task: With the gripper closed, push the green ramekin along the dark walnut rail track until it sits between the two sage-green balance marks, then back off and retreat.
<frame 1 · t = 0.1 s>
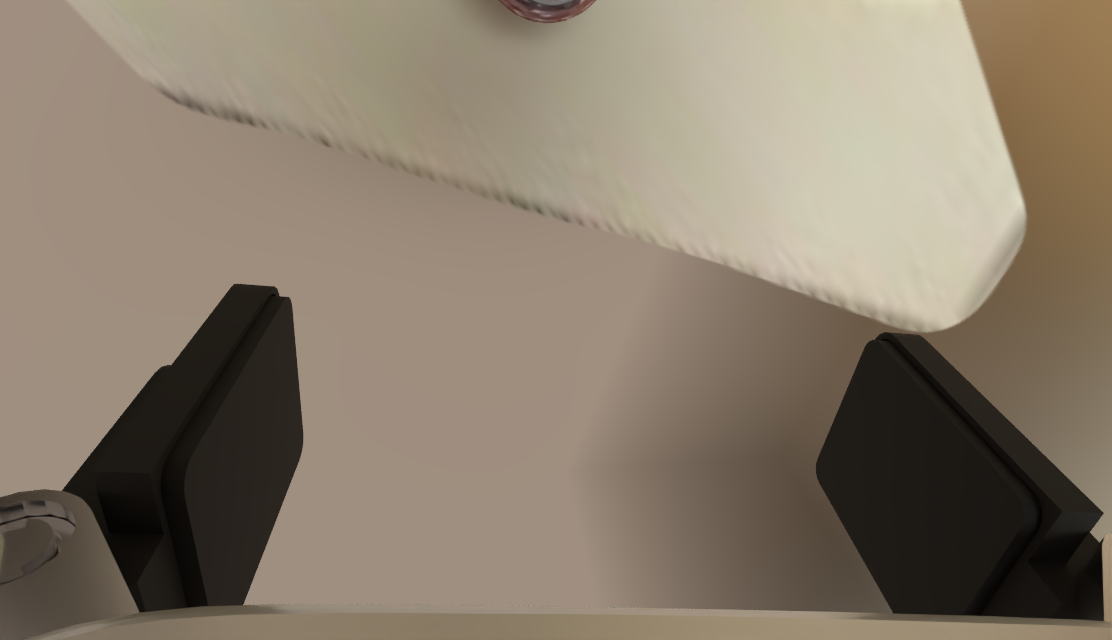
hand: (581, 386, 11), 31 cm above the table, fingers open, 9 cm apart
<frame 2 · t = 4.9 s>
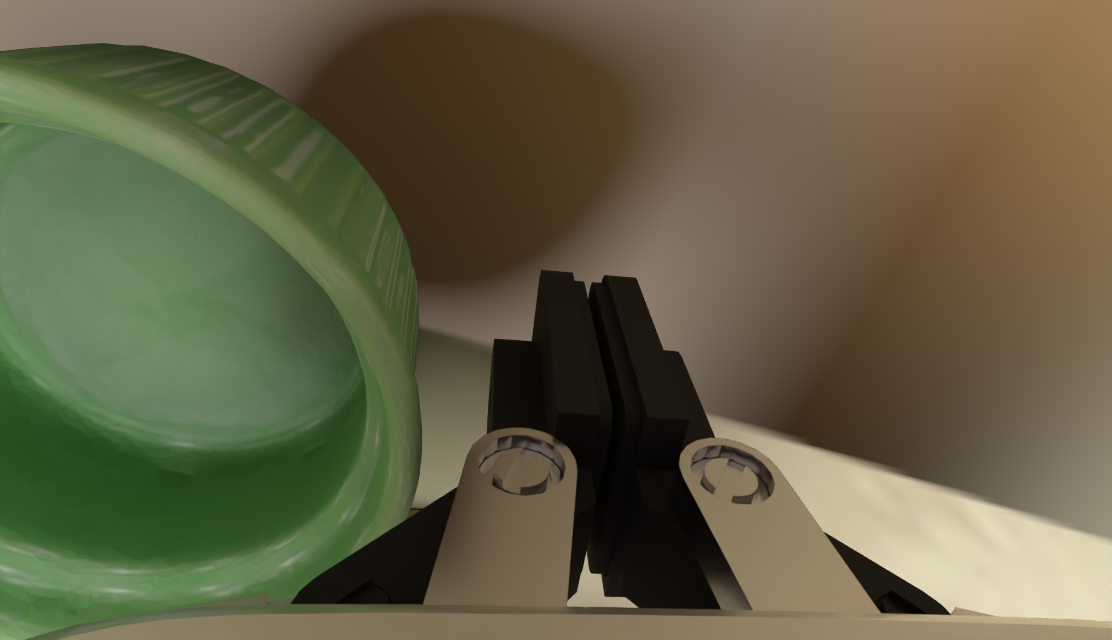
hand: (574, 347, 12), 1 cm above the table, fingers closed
ramekin: (197, 274, 12), on the table, touching gripper
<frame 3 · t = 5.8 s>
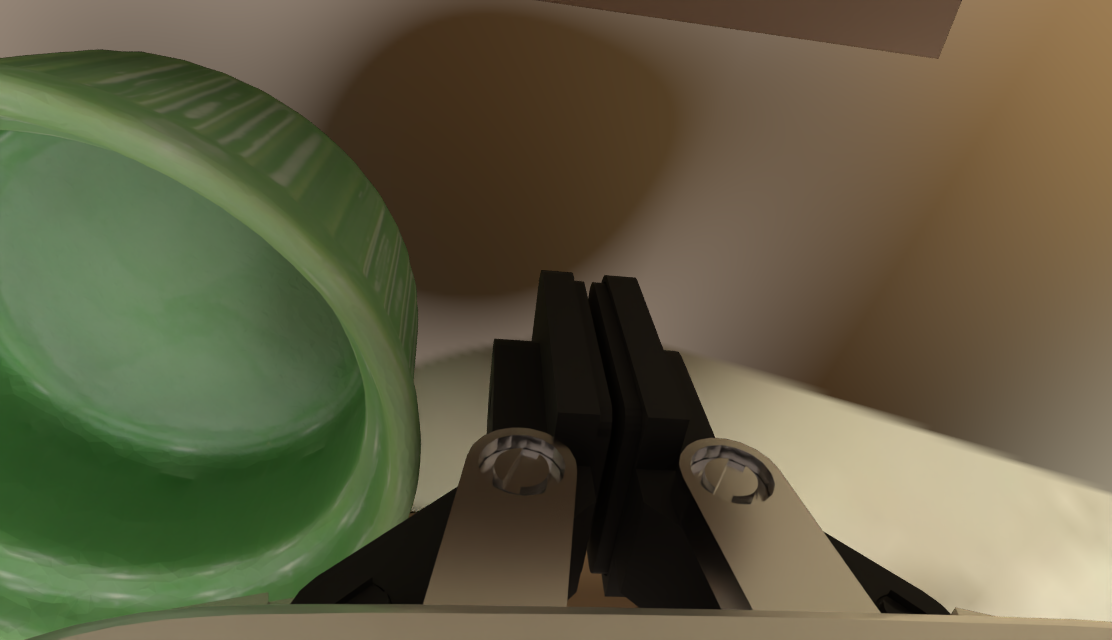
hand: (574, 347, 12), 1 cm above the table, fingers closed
ramekin: (197, 279, 12), on the table, touching gripper
walnut track: (246, 286, 12), on the table
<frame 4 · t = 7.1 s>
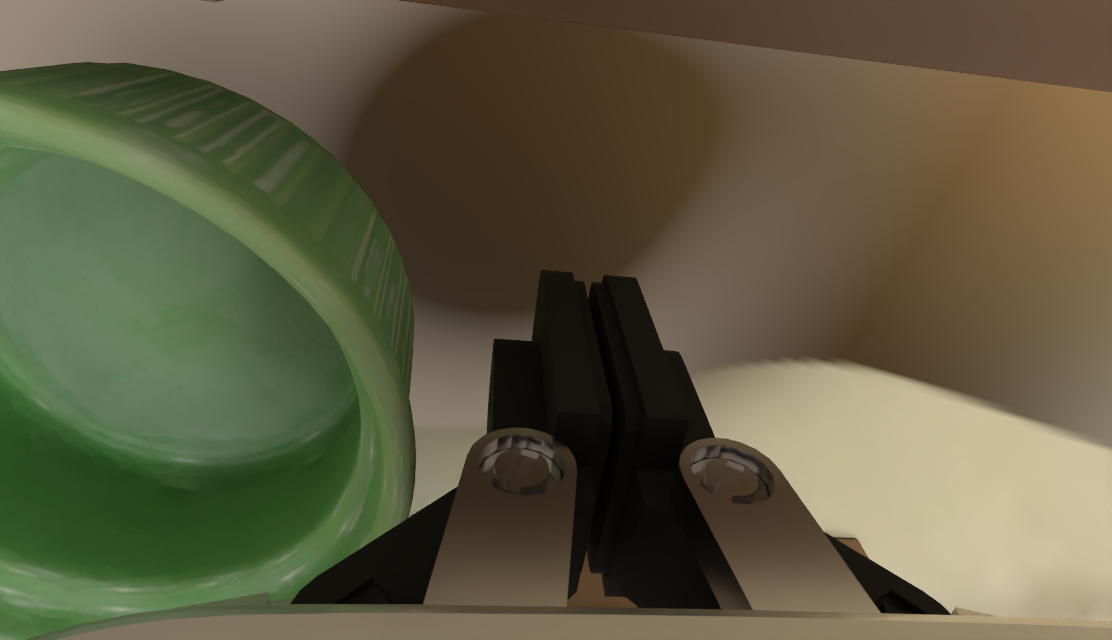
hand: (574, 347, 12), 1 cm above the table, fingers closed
ramekin: (192, 290, 12), on the table, touching gripper
walnut track: (487, 319, 12), on the table
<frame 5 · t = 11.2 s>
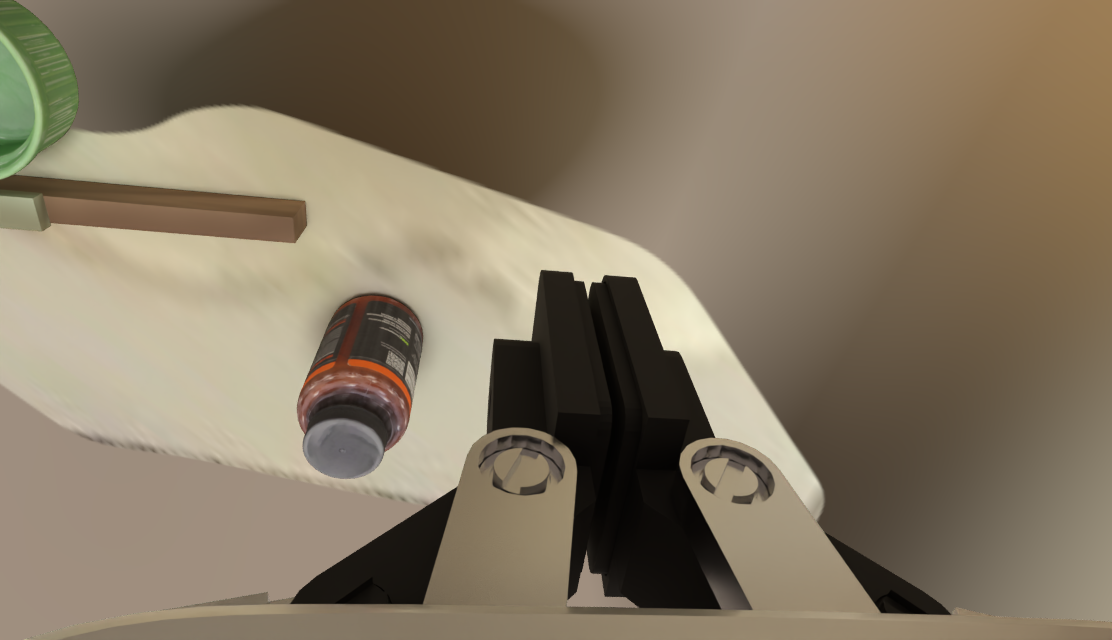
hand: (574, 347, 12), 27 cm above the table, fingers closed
supplement bottle: (378, 330, 43), on the table
walnut track: (107, 82, 34), on the table
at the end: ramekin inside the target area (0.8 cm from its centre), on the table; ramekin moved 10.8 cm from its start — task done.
